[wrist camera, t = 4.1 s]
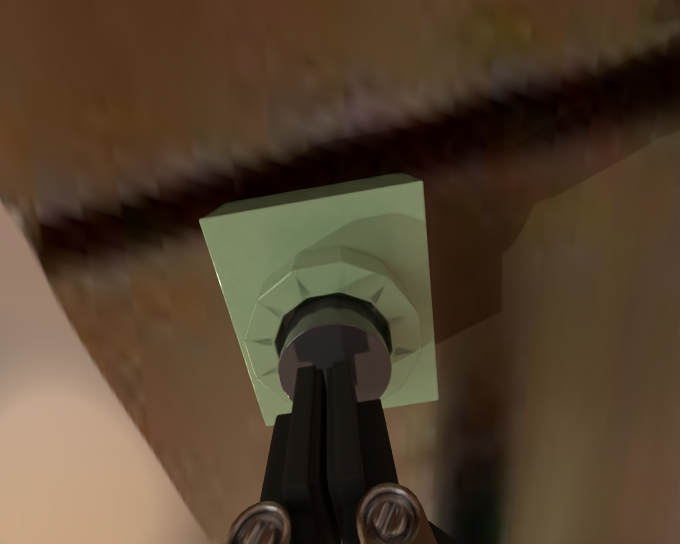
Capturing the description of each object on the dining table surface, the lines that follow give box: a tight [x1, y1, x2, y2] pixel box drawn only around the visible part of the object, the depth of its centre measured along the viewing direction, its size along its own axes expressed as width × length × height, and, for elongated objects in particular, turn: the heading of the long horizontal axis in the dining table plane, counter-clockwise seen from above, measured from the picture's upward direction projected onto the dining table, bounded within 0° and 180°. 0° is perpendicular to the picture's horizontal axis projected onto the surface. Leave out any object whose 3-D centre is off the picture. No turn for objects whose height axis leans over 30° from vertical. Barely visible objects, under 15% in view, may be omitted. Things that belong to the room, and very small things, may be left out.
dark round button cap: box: [278, 297, 392, 402], centre depth 13 cm, size 4×4×2 cm
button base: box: [199, 173, 439, 426], centre depth 16 cm, size 11×9×6 cm
